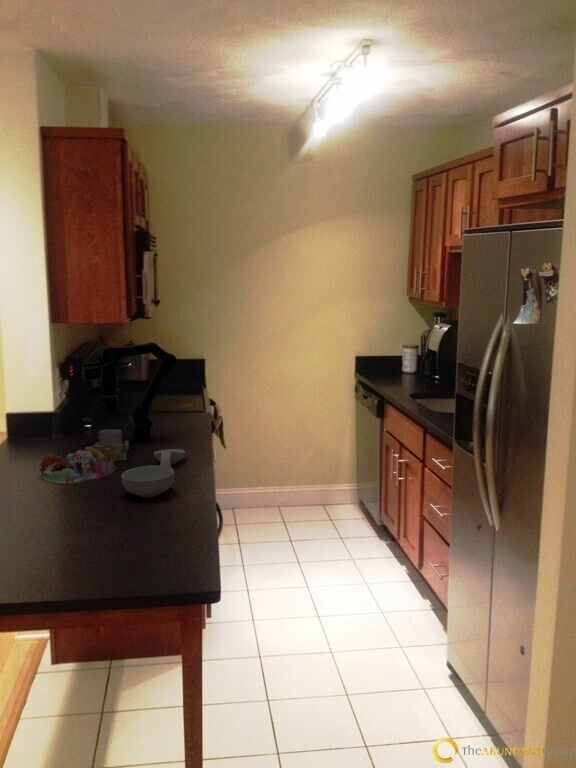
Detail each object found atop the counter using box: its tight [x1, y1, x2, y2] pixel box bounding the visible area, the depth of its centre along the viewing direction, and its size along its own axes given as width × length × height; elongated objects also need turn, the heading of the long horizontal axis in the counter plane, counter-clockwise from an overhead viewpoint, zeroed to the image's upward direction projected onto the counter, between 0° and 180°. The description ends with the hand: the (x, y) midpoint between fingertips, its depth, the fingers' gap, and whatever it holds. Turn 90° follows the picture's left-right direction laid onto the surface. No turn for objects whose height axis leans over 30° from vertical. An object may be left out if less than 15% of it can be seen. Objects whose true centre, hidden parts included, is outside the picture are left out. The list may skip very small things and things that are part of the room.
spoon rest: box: [153, 448, 186, 468], centre depth 254 cm, size 24×12×7 cm, turn 6°
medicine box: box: [98, 428, 123, 446], centre depth 272 cm, size 8×4×9 cm, turn 84°
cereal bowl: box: [121, 465, 175, 498], centre depth 226 cm, size 17×17×7 cm
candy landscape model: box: [39, 446, 118, 485], centre depth 247 cm, size 25×24×9 cm
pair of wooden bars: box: [89, 440, 130, 462], centre depth 269 cm, size 13×18×6 cm
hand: (111, 415), depth 280 cm, fingers closed
